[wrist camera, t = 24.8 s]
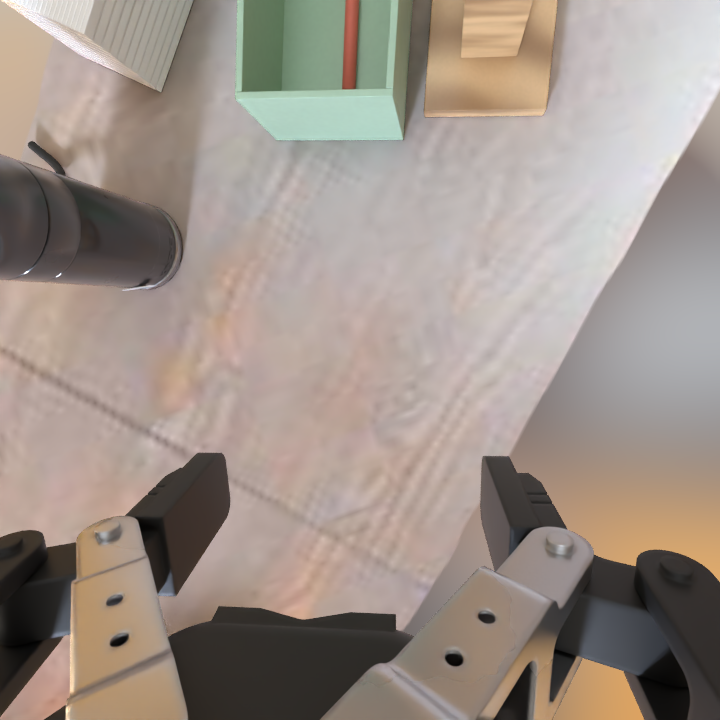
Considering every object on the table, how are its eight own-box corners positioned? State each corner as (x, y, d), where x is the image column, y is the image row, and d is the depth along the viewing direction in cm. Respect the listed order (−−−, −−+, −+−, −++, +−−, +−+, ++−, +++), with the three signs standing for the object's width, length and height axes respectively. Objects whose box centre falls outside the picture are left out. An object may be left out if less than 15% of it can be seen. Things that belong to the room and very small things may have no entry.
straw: (341, 125, 45) (354, 125, 45) (340, 119, 44) (353, 120, 44) (350, -101, 42) (364, -101, 42) (348, -113, 41) (363, -114, 41)
